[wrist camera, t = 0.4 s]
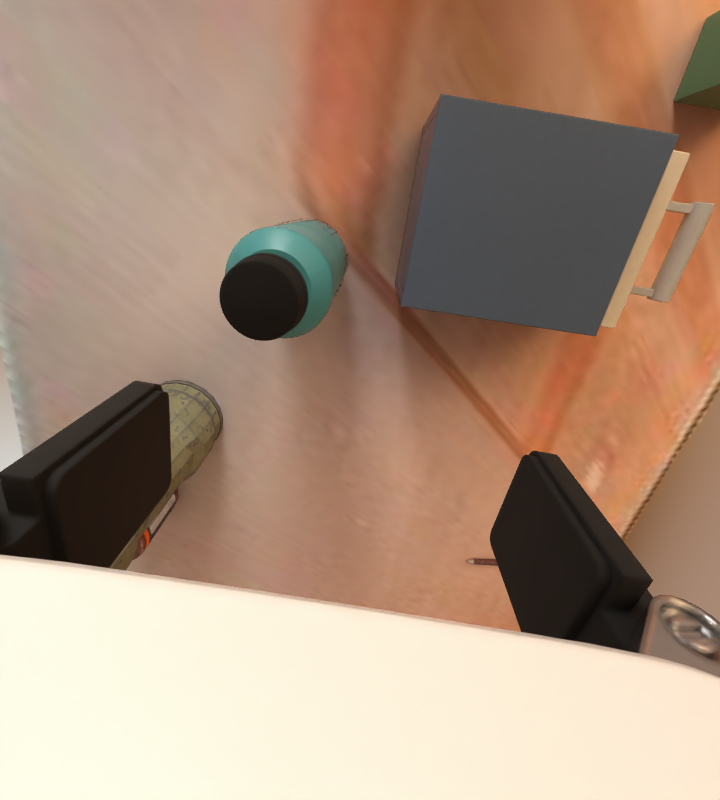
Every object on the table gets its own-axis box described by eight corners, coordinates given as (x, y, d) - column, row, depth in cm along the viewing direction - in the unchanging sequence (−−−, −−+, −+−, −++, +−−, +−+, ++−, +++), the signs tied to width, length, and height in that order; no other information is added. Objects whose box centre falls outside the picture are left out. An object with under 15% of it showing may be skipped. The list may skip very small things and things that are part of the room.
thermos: (146, 451, 46) (-342, 957, 15) (143, 359, 41) (-603, 828, 10) (220, 466, 47) (-98, 985, 15) (227, 376, 42) (-227, 876, 10)
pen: (552, 560, 52) (555, 566, 51) (551, 564, 52) (554, 571, 51) (466, 556, 52) (467, 563, 51) (465, 561, 52) (466, 567, 51)
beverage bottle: (314, 201, 34) (246, 188, 16) (365, 260, 36) (355, 307, 18) (265, 254, 36) (157, 295, 18) (316, 307, 38) (263, 392, 20)
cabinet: (598, 155, 32) (680, 134, 24) (545, 308, 38) (595, 336, 29) (423, 126, 32) (440, 93, 23) (394, 284, 37) (400, 306, 29)
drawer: (681, 176, 32) (767, 165, 25) (620, 314, 37) (678, 338, 30) (457, 138, 31) (481, 116, 24) (426, 284, 36) (438, 301, 29)
